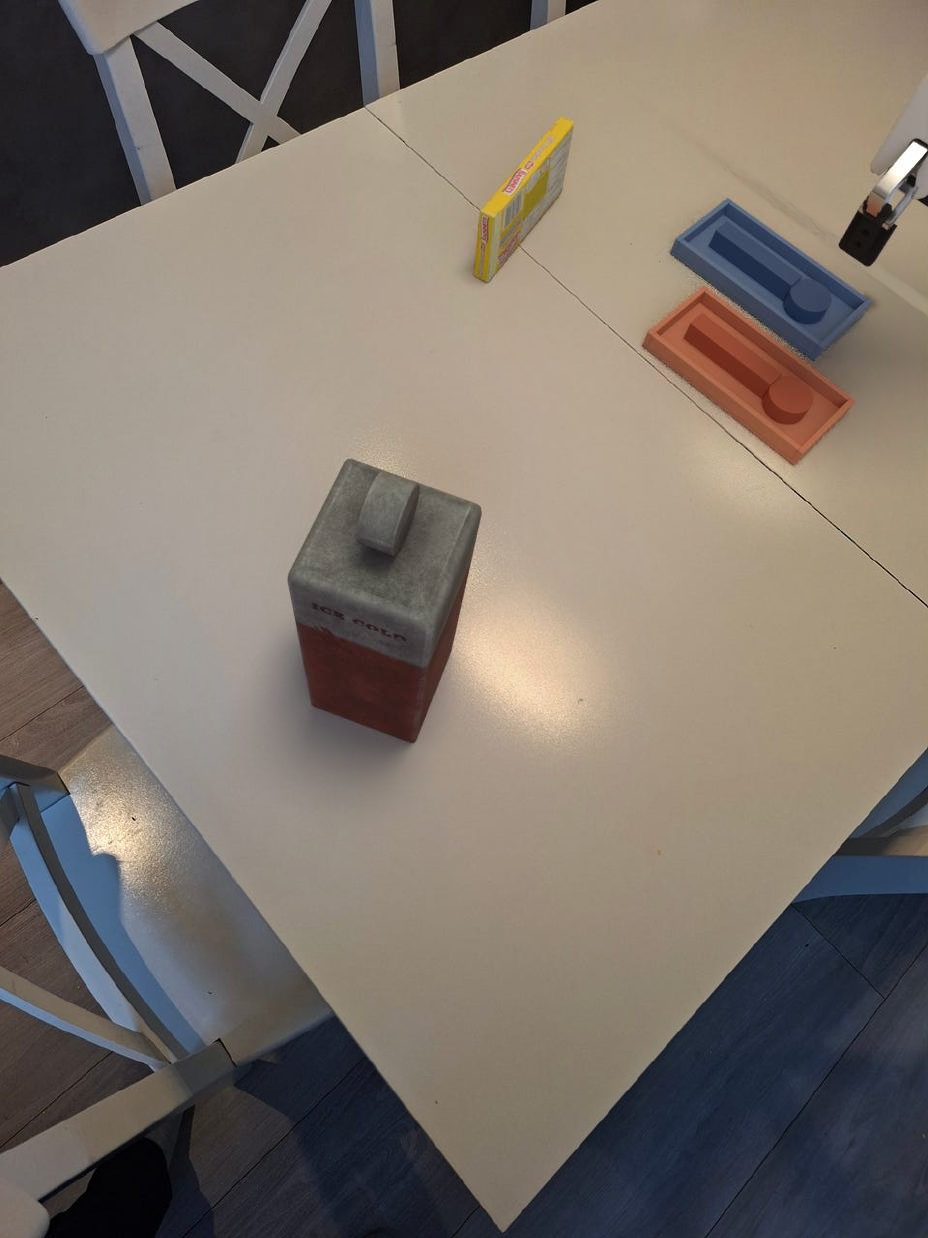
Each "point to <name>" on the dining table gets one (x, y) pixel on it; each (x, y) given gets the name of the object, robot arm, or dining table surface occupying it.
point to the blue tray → (757, 298)
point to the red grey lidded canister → (381, 596)
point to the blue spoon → (773, 275)
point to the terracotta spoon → (752, 371)
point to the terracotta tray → (732, 393)
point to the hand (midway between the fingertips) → (887, 225)
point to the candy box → (522, 200)
